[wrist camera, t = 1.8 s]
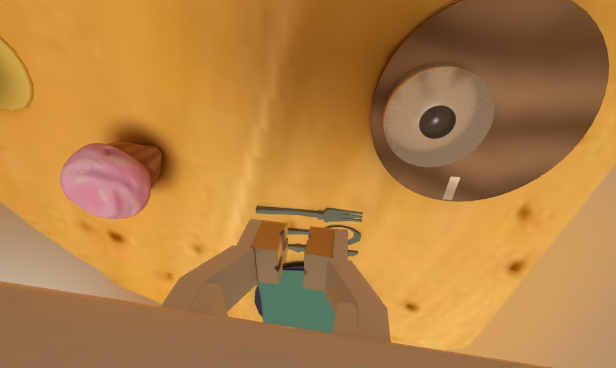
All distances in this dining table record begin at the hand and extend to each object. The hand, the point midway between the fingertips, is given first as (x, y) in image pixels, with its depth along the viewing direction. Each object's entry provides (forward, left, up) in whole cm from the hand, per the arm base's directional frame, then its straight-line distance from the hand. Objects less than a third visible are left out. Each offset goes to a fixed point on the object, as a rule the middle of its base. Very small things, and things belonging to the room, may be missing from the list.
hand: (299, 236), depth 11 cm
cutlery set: (+29, -1, -22) cm, 36 cm away
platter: (0, +14, -21) cm, 25 cm away
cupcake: (+9, -24, -21) cm, 33 cm away
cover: (0, +10, -20) cm, 22 cm away
